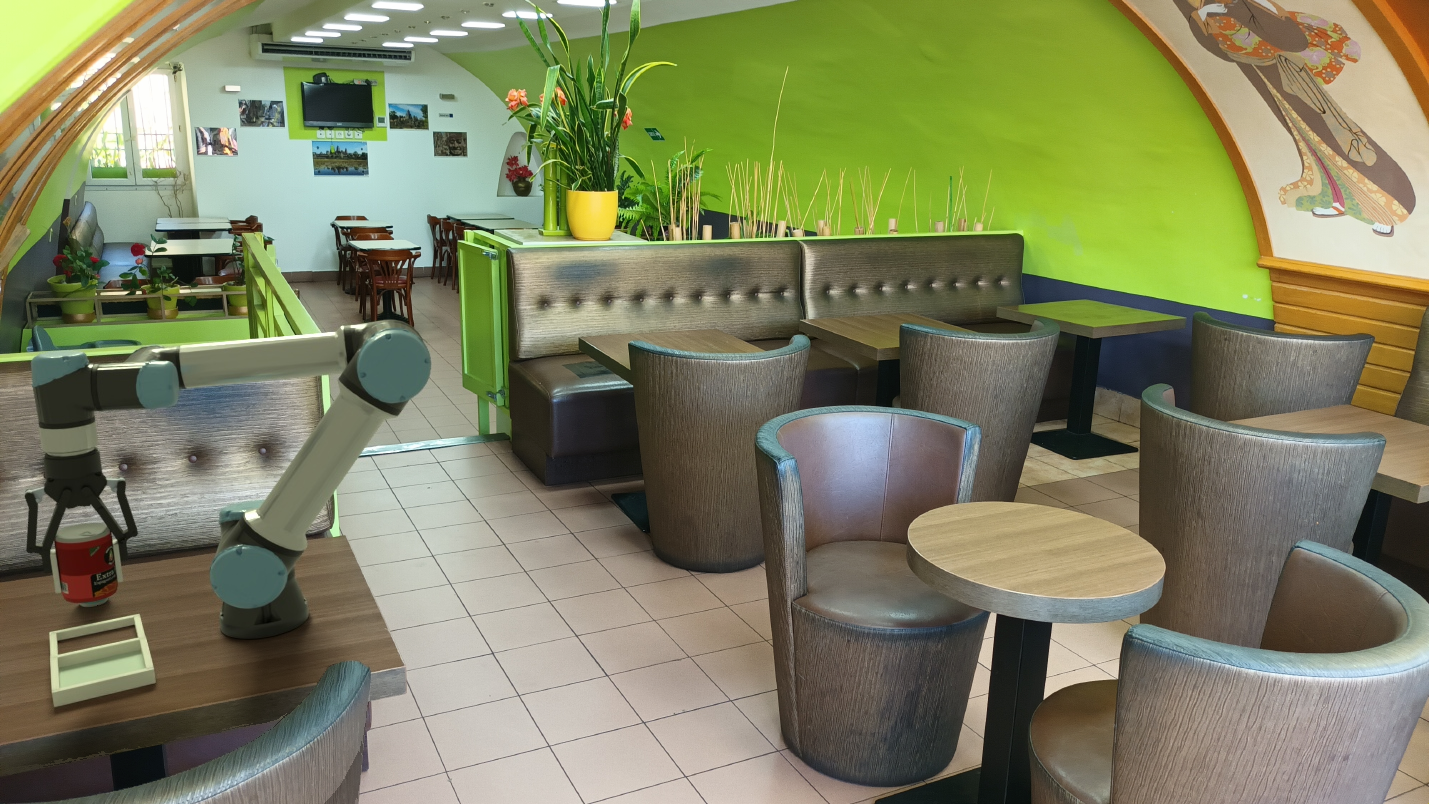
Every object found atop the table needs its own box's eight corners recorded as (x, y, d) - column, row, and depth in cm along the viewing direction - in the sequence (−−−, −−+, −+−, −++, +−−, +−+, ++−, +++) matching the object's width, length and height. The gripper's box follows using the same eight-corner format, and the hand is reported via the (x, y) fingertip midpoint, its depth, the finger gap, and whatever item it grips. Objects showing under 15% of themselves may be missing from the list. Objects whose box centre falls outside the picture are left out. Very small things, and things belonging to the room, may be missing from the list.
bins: (155, 682, 163) (154, 668, 162) (54, 707, 155) (51, 692, 155) (140, 621, 185) (138, 608, 184) (50, 639, 177) (48, 627, 176)
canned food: (103, 604, 158) (94, 539, 156) (51, 604, 158) (42, 539, 155) (128, 584, 166) (120, 522, 163) (79, 584, 165) (70, 522, 163)
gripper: (144, 435, 165) (160, 564, 170) (-9, 452, 154) (13, 589, 159) (147, 446, 159) (163, 579, 164) (-11, 465, 148) (11, 607, 153)
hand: (89, 584), depth 161 cm, fingers closed on canned food, 8 cm apart
